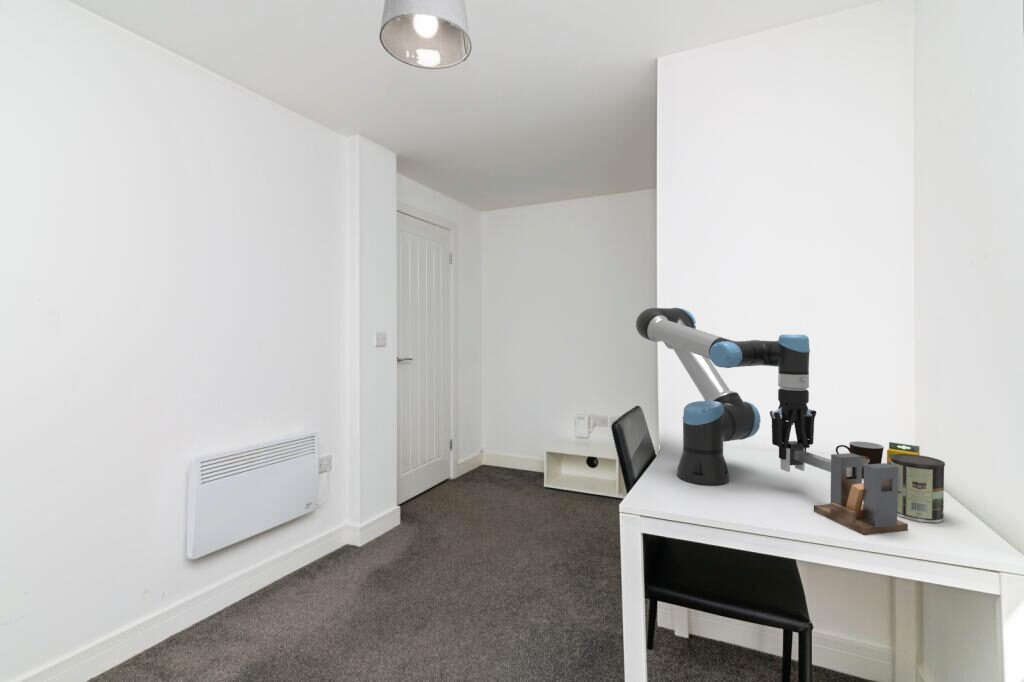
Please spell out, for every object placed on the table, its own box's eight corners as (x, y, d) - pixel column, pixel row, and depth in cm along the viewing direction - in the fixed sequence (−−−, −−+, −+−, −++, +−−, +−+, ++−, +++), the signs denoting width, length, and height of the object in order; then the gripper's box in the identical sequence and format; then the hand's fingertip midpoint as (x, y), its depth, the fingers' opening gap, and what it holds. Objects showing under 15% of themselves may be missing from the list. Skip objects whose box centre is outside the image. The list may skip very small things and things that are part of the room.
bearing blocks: (830, 507, 119) (831, 454, 119) (850, 505, 120) (851, 453, 120) (875, 527, 107) (876, 468, 107) (897, 525, 108) (898, 466, 108)
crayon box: (886, 481, 143) (886, 443, 142) (888, 479, 145) (888, 441, 145) (917, 487, 138) (918, 447, 137) (919, 485, 140) (919, 446, 139)
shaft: (782, 462, 136) (783, 441, 136) (795, 461, 137) (795, 441, 137) (841, 484, 117) (842, 460, 117) (855, 483, 118) (855, 459, 117)
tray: (813, 511, 121) (813, 495, 120) (853, 507, 123) (853, 492, 123) (863, 534, 107) (864, 517, 107) (907, 530, 109) (908, 513, 109)
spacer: (844, 513, 114) (851, 484, 112) (870, 508, 116) (878, 480, 113) (851, 518, 112) (859, 489, 110) (878, 513, 114) (886, 485, 112)
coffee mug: (890, 479, 145) (890, 447, 144) (869, 482, 142) (869, 449, 142) (853, 468, 156) (853, 438, 156) (833, 470, 153) (833, 440, 153)
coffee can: (924, 508, 122) (925, 454, 122) (955, 524, 112) (956, 465, 112) (880, 505, 124) (881, 452, 123) (906, 522, 114) (907, 464, 113)
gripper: (776, 391, 129) (775, 475, 130) (830, 389, 132) (829, 471, 133) (757, 387, 137) (756, 467, 137) (808, 386, 140) (807, 464, 140)
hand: (792, 469), depth 135 cm, fingers closed on shaft, 4 cm apart
